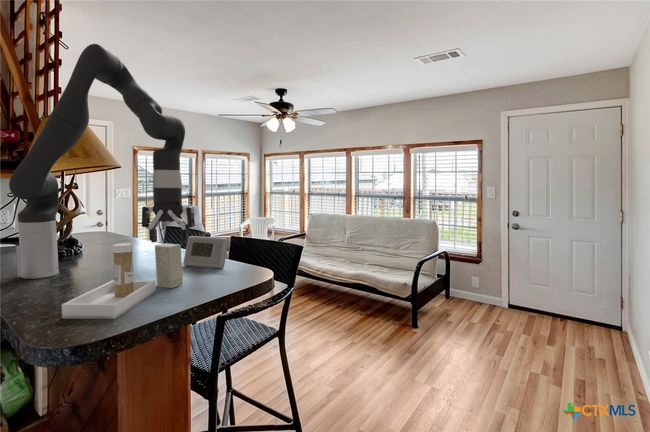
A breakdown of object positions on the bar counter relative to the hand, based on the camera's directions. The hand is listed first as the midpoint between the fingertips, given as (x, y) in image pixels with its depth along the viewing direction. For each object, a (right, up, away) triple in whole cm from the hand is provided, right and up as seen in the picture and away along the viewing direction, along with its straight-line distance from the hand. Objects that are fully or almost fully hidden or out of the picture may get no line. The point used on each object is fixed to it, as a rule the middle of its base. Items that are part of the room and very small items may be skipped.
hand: (169, 242), depth 104 cm
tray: (-7, -14, -15) cm, 22 cm away
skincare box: (0, -13, +1) cm, 13 cm away
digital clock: (+2, -11, +25) cm, 28 cm away
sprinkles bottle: (-7, -13, -10) cm, 18 cm away
